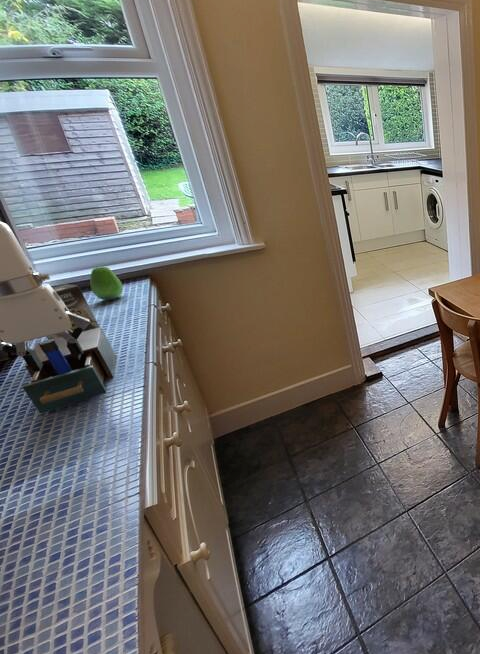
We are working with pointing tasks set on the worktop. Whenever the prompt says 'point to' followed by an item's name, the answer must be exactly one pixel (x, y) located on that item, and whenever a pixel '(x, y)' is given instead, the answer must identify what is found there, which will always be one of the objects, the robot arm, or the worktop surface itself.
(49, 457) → the worktop surface
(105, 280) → the avocado
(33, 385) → the drawer
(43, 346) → the marker
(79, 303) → the coffee box
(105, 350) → the cabinet
